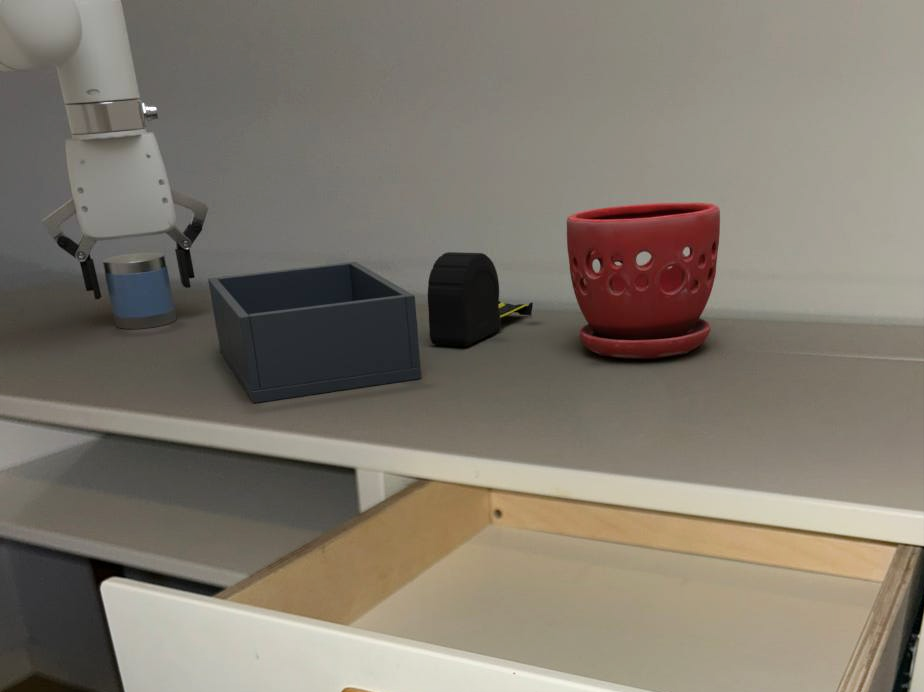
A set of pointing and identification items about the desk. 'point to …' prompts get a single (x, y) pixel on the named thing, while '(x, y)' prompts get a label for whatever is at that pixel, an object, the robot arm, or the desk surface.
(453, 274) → the tape measure
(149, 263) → the can
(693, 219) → the flower pot
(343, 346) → the dark blue open box
